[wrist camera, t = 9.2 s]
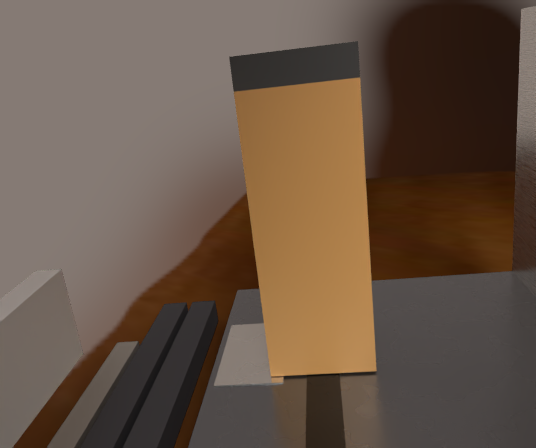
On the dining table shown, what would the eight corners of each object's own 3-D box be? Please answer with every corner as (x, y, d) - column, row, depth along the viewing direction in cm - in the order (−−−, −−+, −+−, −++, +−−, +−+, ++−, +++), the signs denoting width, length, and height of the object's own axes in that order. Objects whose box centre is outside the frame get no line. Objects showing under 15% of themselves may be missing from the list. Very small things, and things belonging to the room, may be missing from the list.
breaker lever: (278, 319, 27) (246, 56, 23) (364, 314, 26) (348, 44, 22) (271, 376, 22) (229, 56, 18) (376, 371, 22) (357, 41, 18)
